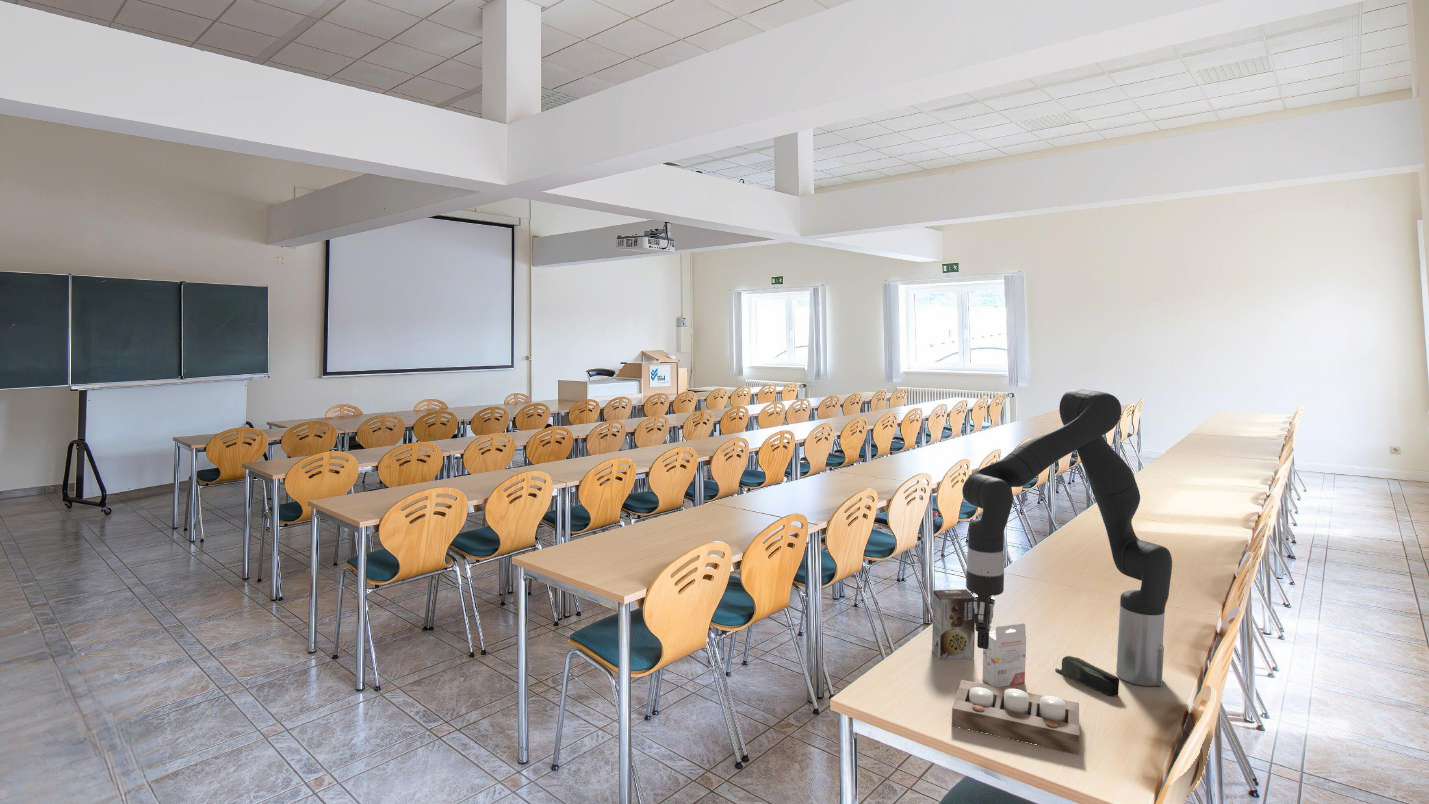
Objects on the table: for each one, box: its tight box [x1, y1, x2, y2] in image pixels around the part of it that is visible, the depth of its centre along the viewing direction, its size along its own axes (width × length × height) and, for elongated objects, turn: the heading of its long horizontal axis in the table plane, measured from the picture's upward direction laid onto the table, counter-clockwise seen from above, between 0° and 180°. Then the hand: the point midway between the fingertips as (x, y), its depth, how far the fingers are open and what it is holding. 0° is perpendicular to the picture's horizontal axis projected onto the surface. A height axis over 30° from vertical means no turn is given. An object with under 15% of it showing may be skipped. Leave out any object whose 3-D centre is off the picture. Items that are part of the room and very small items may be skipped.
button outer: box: [969, 687, 993, 707], centre depth 159 cm, size 5×5×4 cm
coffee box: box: [931, 588, 976, 660], centre depth 189 cm, size 9×6×16 cm
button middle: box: [1004, 688, 1029, 715], centre depth 156 cm, size 5×5×4 cm
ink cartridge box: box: [982, 622, 1027, 688], centre depth 174 cm, size 9×5×15 cm, turn 105°
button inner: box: [1040, 695, 1066, 722], centre depth 153 cm, size 5×5×4 cm
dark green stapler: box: [1054, 655, 1120, 697], centre depth 174 cm, size 5×3×15 cm
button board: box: [951, 679, 1080, 756], centre depth 156 cm, size 24×14×4 cm, turn 64°
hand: (983, 647), depth 158 cm, fingers closed
